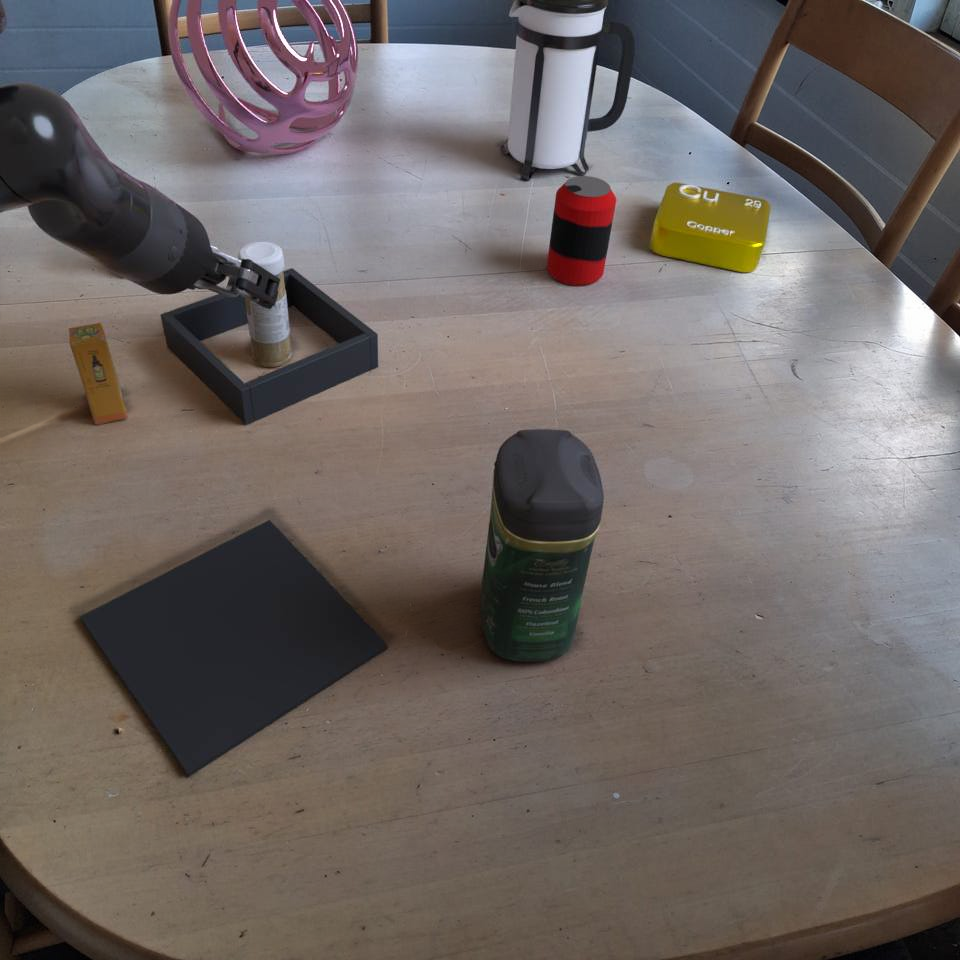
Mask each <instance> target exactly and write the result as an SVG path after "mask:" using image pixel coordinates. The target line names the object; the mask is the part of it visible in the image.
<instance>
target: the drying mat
mask: <svg viewBox="0 0 960 960" xmlns="http://www.w3.org/2000/svg"><path fill="white" fill-rule="evenodd" d="M79 620H80V622H81V623H82V624H83V626H84V628H85V629H86V631H87V632H88V633H89V635H90V636H91V638H92V640H93V641H94V642H95V644H96V645H97V647H98V648H99V649H100V651H101V653H102V654H103V655H104V657H105V658H106V660H107V661H108V663H109V664H110V666H111V667H112V668H113V670H114V671H115V673H116V674H117V675H118V677H119V678H120V680H121V681H122V683H123V684H124V686H125V687H126V689H127V690H128V692H129V693H130V695H131V696H132V698H133V699H134V701H135V702H136V703H137V705H138V706H139V707H140V709H141V710H142V712H143V713H144V715H145V716H146V718H147V720H148V721H149V722H150V724H151V725H152V727H153V728H154V729H155V731H156V732H157V734H158V736H159V737H160V739H161V740H162V741H163V743H164V744H165V746H166V747H167V749H168V750H169V751H170V753H171V754H172V756H173V757H174V759H175V760H176V762H177V763H178V765H179V766H180V768H181V769H182V770H183V772H184V773H185V775H186V776H187V777H188V778H189V777H191V776H193V775H194V774H196V773H198V772H199V771H200V770H202V769H203V768H205V767H207V766H208V765H209V764H211V763H213V762H214V761H216V760H218V759H219V758H221V757H222V756H223V755H226V754H227V753H228V752H230V751H231V750H233V749H235V748H236V747H237V746H239V745H241V744H242V743H243V742H246V741H247V740H248V739H250V738H252V737H253V736H255V735H256V734H258V733H259V732H261V731H262V730H264V729H266V728H267V727H268V726H270V725H272V724H273V723H275V722H276V721H278V720H279V719H281V718H283V717H284V716H286V715H287V714H289V713H290V712H292V711H293V710H295V709H297V708H298V707H300V706H301V705H303V704H304V703H306V702H308V701H309V700H310V699H312V698H313V697H316V695H318V694H320V693H322V692H323V691H325V690H326V689H327V688H329V687H331V686H332V685H334V684H335V683H337V682H338V681H340V680H341V679H343V678H344V677H346V676H348V675H350V674H351V673H352V672H354V671H355V670H357V669H358V668H360V667H362V666H364V665H365V664H366V663H368V662H369V661H371V660H372V659H374V658H376V657H377V656H378V655H380V654H383V653H384V652H385V651H387V650H388V646H389V645H388V644H387V642H386V641H385V640H384V639H383V638H382V637H381V636H380V634H378V632H377V631H376V630H374V628H372V626H370V624H369V622H367V621H366V620H365V619H364V618H363V617H362V616H361V615H360V613H358V612H357V610H356V609H355V608H354V607H353V606H352V605H351V604H350V603H349V602H348V601H347V600H346V599H345V597H344V596H343V595H341V593H339V591H338V590H336V588H335V587H334V586H333V585H332V584H331V583H330V582H329V581H328V580H327V579H326V578H325V577H324V576H323V575H322V574H321V572H319V570H318V569H317V568H316V567H315V566H314V565H313V564H312V563H311V562H310V561H309V559H307V558H306V556H305V555H304V554H302V552H301V551H300V550H299V549H298V548H297V547H296V546H295V545H294V544H293V543H292V541H290V540H289V539H288V538H287V536H286V535H285V534H284V533H283V532H282V531H281V530H280V529H279V528H278V527H277V526H276V525H275V524H274V523H273V522H272V520H270V519H268V520H266V521H264V522H263V523H260V524H258V525H257V526H254V527H253V528H250V529H248V530H247V531H245V532H243V533H240V534H238V535H237V536H235V537H233V538H230V539H229V540H227V541H225V542H223V543H221V544H219V545H217V546H215V547H213V548H211V549H210V550H208V551H205V552H204V553H201V554H199V555H197V556H196V557H194V558H192V559H190V560H187V561H186V562H184V563H181V564H180V565H178V566H176V567H174V568H172V569H171V570H168V571H166V572H164V573H163V574H161V575H158V576H157V577H155V578H153V579H151V580H149V581H146V582H145V583H143V584H141V585H139V586H137V587H135V588H133V589H131V590H129V591H127V592H126V593H122V595H119V596H118V597H115V598H114V599H112V600H110V601H108V602H106V603H104V604H102V605H99V606H98V607H96V608H94V609H92V610H90V611H87V612H86V613H84V614H82V615H80V616H79Z"/></svg>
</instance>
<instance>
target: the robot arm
mask: <svg viewBox="0 0 960 960" xmlns="http://www.w3.org/2000/svg"><path fill="white" fill-rule="evenodd" d="M6 13H7V12H6V10H5V7H4V4H3V1H2V0H0V38H2V36H3V35H4V34H5V32H6V29H7V27H8V26H7V25H8V19H7V14H6ZM25 207H27V209H28V212H29V215H30V217H31V219H32V221H33V222H34V223H35V224H36V225H37V227H38V228H39V229H40V230H41V231H43V233H45V234H46V235H47V236H49V237H50V238H52V239H54V240H55V241H57V242H58V243H60V244H63V245H64V246H66V247H69V248H70V249H72V250H74V251H76V252H78V253H80V254H82V255H84V256H85V257H88V258H90V259H91V260H93V261H94V262H95V263H96V264H97V265H99V266H100V267H102V268H104V269H106V270H108V271H109V272H112V273H113V274H115V275H117V276H119V277H121V278H123V279H126V280H128V281H129V282H132V283H133V284H136V285H138V286H139V287H141V288H144V289H146V290H148V291H150V292H152V293H155V294H158V295H175V294H179V293H183V292H184V291H186V290H191V291H194V290H196V289H197V290H207V291H211V292H213V293H216V294H221V295H224V296H226V297H237V296H238V295H239V296H241V297H244V298H246V299H249V300H250V301H251V302H255V303H257V304H258V305H260V306H262V307H263V308H267V309H271V308H272V307H273V306H275V303H276V300H277V296H278V293H279V292H278V287H279V284H280V280H281V279H279V278H278V277H277V276H275V275H273V274H272V273H270V272H268V271H267V270H265V269H264V268H262V267H261V266H259V265H258V264H256V263H254V262H252V260H250V259H242V261H241V260H239V258H236V257H234V256H231V255H229V254H226V253H224V252H222V251H220V248H218V247H216V246H214V245H212V244H211V241H210V237H209V234H208V233H207V230H206V228H205V226H204V224H203V223H202V222H201V221H200V220H199V219H198V217H196V216H195V215H194V214H192V213H191V212H190V211H188V210H187V209H185V208H184V207H183V206H181V205H179V204H178V203H177V202H175V201H174V200H173V199H171V198H170V197H168V196H167V195H165V194H164V193H163V192H161V190H158V189H156V187H154V186H152V185H150V184H149V183H147V182H144V181H142V180H140V179H138V178H136V177H134V176H132V175H131V174H130V173H128V172H126V171H125V170H124V169H122V168H121V167H119V166H117V164H115V163H114V162H112V161H110V160H109V158H108V157H107V155H106V154H105V153H104V151H103V150H102V149H101V147H100V146H99V144H98V143H97V142H96V141H95V139H94V138H93V136H92V135H91V134H90V132H89V131H88V129H87V128H86V127H85V125H84V123H83V121H82V120H81V119H80V117H79V115H78V114H77V112H76V111H75V109H74V108H73V107H72V105H71V103H69V101H68V100H66V99H65V98H64V97H63V96H61V94H59V93H57V92H56V91H54V90H52V89H50V88H47V87H44V86H41V85H39V84H35V83H31V82H25V81H24V82H23V81H19V82H18V81H17V82H10V83H5V84H1V85H0V214H1V213H5V212H8V211H14V210H16V209H20V208H25ZM226 278H228V280H227V284H226V286H225V287H223V286H221V285H219V284H221V283H223V282H224V281H225V280H226Z"/></svg>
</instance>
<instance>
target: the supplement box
mask: <svg viewBox="0 0 960 960" xmlns="http://www.w3.org/2000/svg"><path fill="white" fill-rule="evenodd" d="M68 334H69V336H68V337H69V347H70V349H71V352H72V356H73V359H74V361H75V364H76V368H77V371H78V374H79V377H80V381H81V384H82V387H83V391H84V394H85V397H86V400H87V403H88V407H89V410H90V413H91V416H92V420H93V424H94V425H96V426H98V425H103V424H108V423H112V422H115V421H116V422H117V421H124V420H127V419H128V413H127V408H126V404H125V400H124V397H123V393H122V389H121V386H120V382H119V378H118V375H117V371H116V368H115V364H114V361H113V358H112V357H113V356H112V353H111V350H110V347H109V344H108V340H107V337H106V333H105V330H104V326H103V325H102V323H101V322H97V323H91V324H86V325H79V326H75V327H69V328H68Z"/></svg>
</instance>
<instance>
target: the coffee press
mask: <svg viewBox="0 0 960 960" xmlns="http://www.w3.org/2000/svg"><path fill="white" fill-rule="evenodd" d="M608 5H609V0H514V1H513V3H512V5H511V7H510V10H509V14H508V16H509V17H510V18H516V21H515V34H516V40H515V41H516V42H515V52H514V53H515V54H514V65H513V75H512V87H511V96H510V97H511V98H510V109H509V111H510V112H509V121H508V131H507V132H508V133H507V134H508V135H507V138H506V140H505V141H504V143H502V145H501V146H500V149H499V151H500V153H501V154H502V155H503V156H506V155H509V154H510V155H511V156H512V157H513V158H514V159H515V160H516V161H517V162H520V163H521V164H523V165H522V168H521V171H520V174H519V175H520V176H519V177H520V179H522V180H524V181H525V180H526V181H529V182H530V181H531V179H532V177H533V175H534V172H535V170H536V169H537V168H538V169H545V170H556V169H563V168H567V167H571V168H572V169H573V170H574V171H575V173H576V174H577V175H578V176H586V174H587V173H588V172H589V169H590V167H589V165H588V163H587V160H586V158H585V149H586V141H587V140H588V133H589V132H598V131H601V130H606V129H608V128H610V127H611V126H613V125H614V124H615V123H617V121H618V120H619V119H620V118H621V116H622V114H623V112H624V110H625V107H626V104H627V100H628V95H629V91H630V84H631V78H632V72H633V68H634V67H633V66H634V61H635V52H636V45H635V44H636V43H635V37H634V34H633V32H632V30H631V29H630V27H629V26H628V25H626V24H625V22H622V21H620V20H617V19H611V18H609V19H608V20H604V15H605V10H606V9H607V7H608ZM603 34H610V35H617V36H618V37H619V39H620V42H621V43H620V44H621V55H620V61H619V67H618V72H617V73H618V74H617V78H616V79H617V80H616V85H615V92H614V96H613V102H612V105H611V107H610V109H609V110H608V112H607V113H606V114H605V115H602V116H600V117H596V118H590V113H591V108H592V100H593V94H594V87H595V80H596V75H597V74H596V73H597V66H598V59H599V52H600V43H601V42H602V39H603ZM505 145H507V149H508V150H507V149H506V148H505ZM579 160H580V163H581V166H582V168H583V170H584V171H582V169H581V168H580V166H579V165H578V164H577V162H578V161H579Z"/></svg>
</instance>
